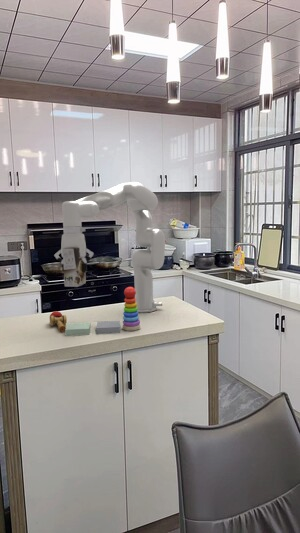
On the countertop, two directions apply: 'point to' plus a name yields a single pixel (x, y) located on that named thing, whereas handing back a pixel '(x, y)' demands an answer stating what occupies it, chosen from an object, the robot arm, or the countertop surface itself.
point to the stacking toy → (130, 311)
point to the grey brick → (108, 327)
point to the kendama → (58, 320)
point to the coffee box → (73, 268)
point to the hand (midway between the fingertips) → (74, 272)
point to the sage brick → (78, 329)
